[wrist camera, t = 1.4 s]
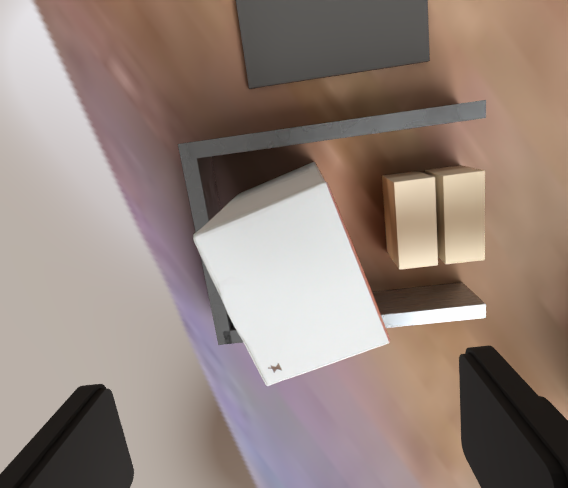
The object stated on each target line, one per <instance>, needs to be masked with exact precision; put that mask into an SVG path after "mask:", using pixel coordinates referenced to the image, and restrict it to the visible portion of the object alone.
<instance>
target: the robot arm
mask: <svg viewBox="0 0 568 488" xmlns="http://www.w3.org/2000/svg"><path fill="white" fill-rule="evenodd" d="M459 373H460V410H461V442H462V448H463V452H464V455H465V457H466V459H467V461H468V463H469V465H470V467H471V469H472V471H473V473H474V475H475V477H476V479H477V480H478V482H479V484H480V486H481V488H568V421H567V419H566V418H565V417H564V416H563V415H562V414H561V413H560V412H559V411H558V410H557V409H556V408H555V407H554V406H553V405H552V404H551V403H550V402H549V401H548V400H547V399H546V398H544V397H541V396H538V395H537V394H536V393H535V392H534V391H533V390H532V388H531V387H530V386H529V385H528V384H527V383H526V382H525V381H524V380H523V379H522V378H521V377H520V376H519V374H518V373H517V372H516V371H515V370H514V369H513V368H512V367H511V366H510V365H509V364H508V363H507V362H506V360H505V359H504V358H503V357H502V356H501V355H500V354H499V353H498V352H497V351H496V350H495V349H494V348H493V347H492V346H481V347H471V348H467V349H466V354H461V355H460V357H459ZM133 476H134V469H133V465H132V461H131V458H130V454H129V451H128V447H127V444H126V441H125V437H124V433H123V429H122V426H121V423H120V419H119V415H118V412H117V409H116V405H115V401H114V397H113V394H112V392H111V390H110V389H106V387H105V386H104V385H103V384H95V385H86V386H80V387H79V388H77V389H76V390H75V391H74V393H73V394H72V395H71V396H70V397H69V398H68V399H67V401H66V402H65V403H64V404H63V405H62V406H61V407H60V408H59V409H58V410H57V412H56V413H55V414H54V415H53V416H52V417H51V418H50V419H49V421H48V422H47V423H46V424H45V425H44V426H43V427H42V428H41V429H40V431H39V432H38V433H37V434H36V435H35V436H34V438H32V439H31V441H30V442H29V443H28V444H27V445H26V446H25V447H24V448H23V450H22V451H21V452H20V453H19V454H18V455H17V456H16V457H15V458H14V460H13V461H12V462H11V463H10V464H9V465H8V466H7V467H6V468H5V470H4V471H3V472H2V473H1V474H0V488H130V486H131V484H132V481H133Z"/></svg>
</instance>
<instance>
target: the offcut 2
mask: <svg viewBox="0 0 568 488" xmlns="http://www.w3.org/2000/svg"><path fill="white" fill-rule="evenodd" d="M424 174H427V175H430V176H433V177H435V193H436V222H437V252H438V258H439V259H440V260H442V261H443V262H444V263H445V264H453V263H462V262H471V261H480V260H485V171H484V170H480V169H475V168H470V167H465V166H461V165H459V166H452V167H444V168H437V169H429V170H424Z"/></svg>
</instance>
